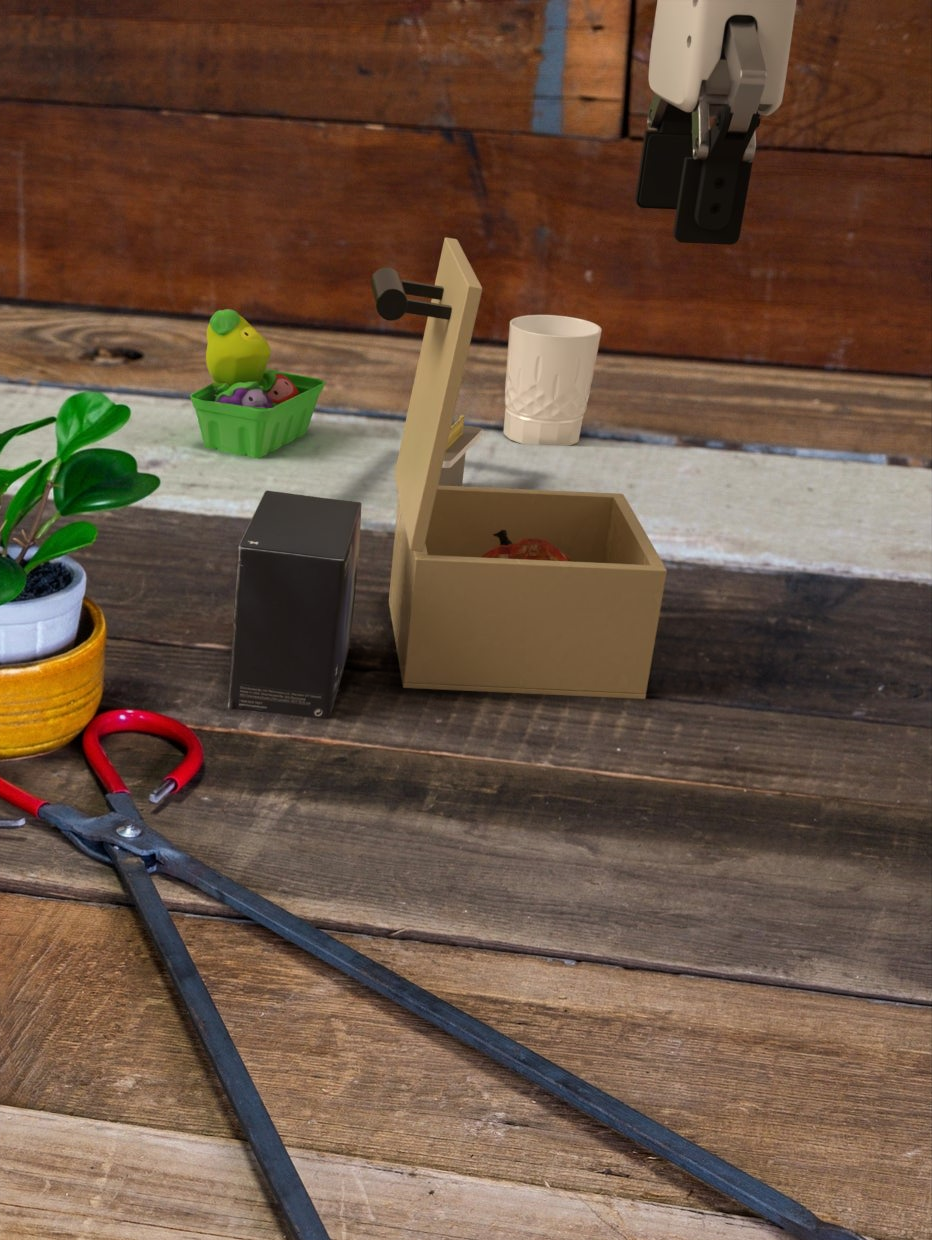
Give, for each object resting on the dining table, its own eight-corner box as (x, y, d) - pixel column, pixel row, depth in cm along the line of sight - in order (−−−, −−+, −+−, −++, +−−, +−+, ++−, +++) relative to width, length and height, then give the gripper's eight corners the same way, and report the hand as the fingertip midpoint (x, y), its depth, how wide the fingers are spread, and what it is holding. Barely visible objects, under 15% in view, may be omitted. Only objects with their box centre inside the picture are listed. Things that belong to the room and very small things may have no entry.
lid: (457, 239, 103) (375, 225, 102) (482, 287, 90) (389, 272, 90) (405, 477, 110) (328, 465, 109) (423, 552, 97) (336, 539, 97)
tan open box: (604, 617, 113) (623, 493, 110) (644, 706, 101) (667, 570, 97) (388, 607, 114) (399, 483, 110) (402, 695, 102) (415, 558, 98)
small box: (335, 728, 97) (348, 558, 92) (224, 716, 98) (232, 547, 93) (353, 654, 106) (366, 497, 102) (251, 644, 107) (260, 487, 103)
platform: (328, 524, 128) (334, 440, 125) (398, 459, 143) (405, 383, 140) (481, 550, 124) (491, 465, 121) (537, 481, 139) (547, 404, 136)
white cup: (528, 454, 146) (543, 339, 141) (479, 428, 152) (492, 317, 147) (603, 445, 149) (620, 333, 144) (552, 420, 155) (567, 312, 150)
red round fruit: (587, 690, 106) (560, 555, 111) (609, 635, 100) (579, 494, 104) (470, 700, 106) (448, 564, 111) (484, 646, 100) (460, 504, 104)
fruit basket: (263, 470, 139) (271, 334, 134) (172, 451, 143) (175, 318, 138) (325, 437, 148) (334, 308, 143) (237, 419, 152) (242, 293, 146)
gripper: (878, -139, 73) (801, 261, 81) (771, -137, 88) (715, 199, 96) (704, -146, 73) (644, 254, 81) (628, -143, 89) (584, 193, 96)
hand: (683, 224), depth 88 cm, fingers open, 9 cm apart
